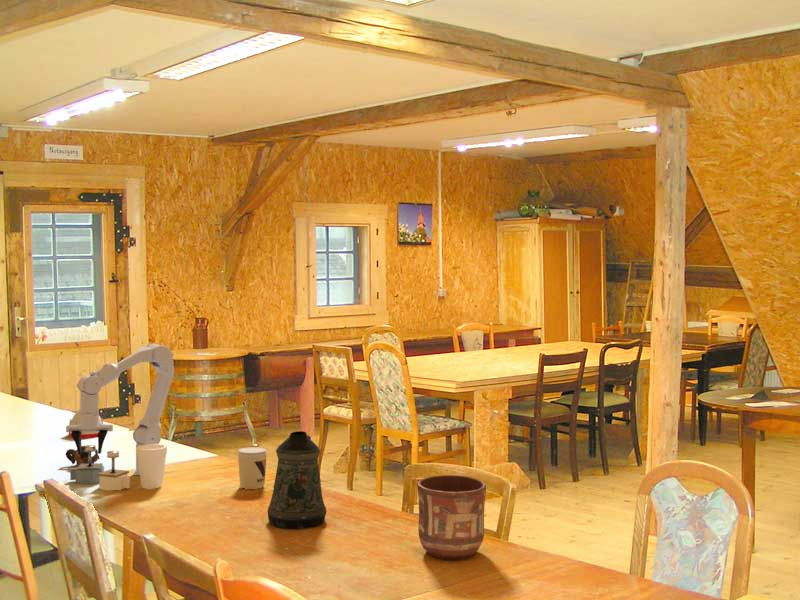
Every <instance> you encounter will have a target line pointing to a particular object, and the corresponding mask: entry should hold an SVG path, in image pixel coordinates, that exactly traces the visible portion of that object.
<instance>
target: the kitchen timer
mask: <svg viewBox="0 0 800 600" xmlns="http://www.w3.org/2000/svg"><path fill="white" fill-rule="evenodd" d="M103 419H104V418H102V417H101V416H100V415H99V424H104V420H103ZM68 425H80V409H78V410H77V411H76V412H75V413H74V415H73V417H72V418H70V419H69V423H68ZM83 430H85V429H83ZM89 430H92V429H89ZM98 432H99V431H82V435H81V439H92V438H93V439H94V438H98ZM71 434H72V432H68V437H69V438H72V435H71ZM72 439H73V438H72Z"/></svg>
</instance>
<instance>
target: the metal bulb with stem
mask: <svg viewBox="0 0 800 600" xmlns="http://www.w3.org/2000/svg"><path fill="white" fill-rule="evenodd" d="M83 446H84V452H88V467H91V457H92V453H93V452H94V451H96V449H97V448H96V445H95V444H87V445H83ZM94 453H95V452H94Z"/></svg>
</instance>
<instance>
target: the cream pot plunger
mask: <svg viewBox="0 0 800 600" xmlns="http://www.w3.org/2000/svg"><path fill="white" fill-rule="evenodd" d="M106 456H107V457H106V458H108V459H111V469H112V473H115V469H116V467H115V466H116V465H115V464H116V463H115V459H116V458H119V457H120V451H119V450H109V451H107V452H106Z"/></svg>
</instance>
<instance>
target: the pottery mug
mask: <svg viewBox="0 0 800 600" xmlns="http://www.w3.org/2000/svg"><path fill="white" fill-rule="evenodd" d="M84 446H85V445H81V447H82V453H81V454H78V450H77V449H72V448H70V449H67V450H66V451H65V457H66V459H68V461H70V462H71V463H72V465H74V464H75V463H76V465H77V467H79V465H80V464H88V452H84ZM100 459H101V458H100V454H98V448H96V451H94V455H91V464H95V463H97V461H99V460H100ZM77 467H76V468H77Z"/></svg>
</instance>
